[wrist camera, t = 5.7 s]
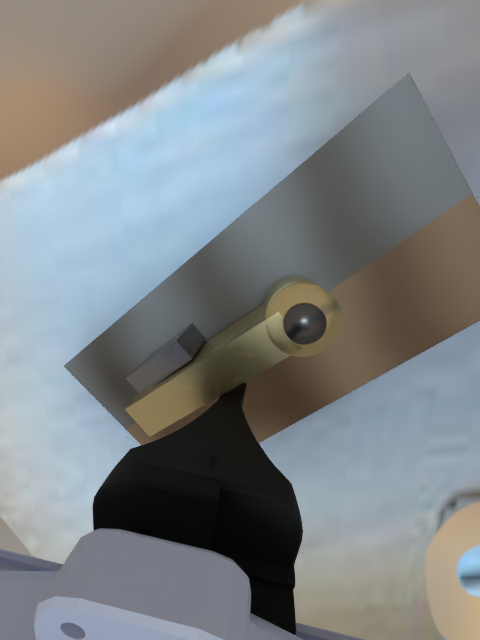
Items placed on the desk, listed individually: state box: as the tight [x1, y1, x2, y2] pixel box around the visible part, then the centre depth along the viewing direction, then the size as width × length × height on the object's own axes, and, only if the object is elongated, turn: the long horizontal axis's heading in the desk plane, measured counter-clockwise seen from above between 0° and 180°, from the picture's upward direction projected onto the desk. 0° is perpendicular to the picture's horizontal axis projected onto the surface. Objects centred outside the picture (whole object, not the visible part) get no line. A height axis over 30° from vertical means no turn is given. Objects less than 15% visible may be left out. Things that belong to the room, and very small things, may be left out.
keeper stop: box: [126, 323, 205, 394], centre depth 11 cm, size 3×1×2 cm, turn 128°
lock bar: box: [125, 276, 343, 437], centre depth 10 cm, size 9×3×3 cm, turn 125°
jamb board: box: [64, 73, 480, 445], centre depth 13 cm, size 20×10×1 cm, turn 127°
